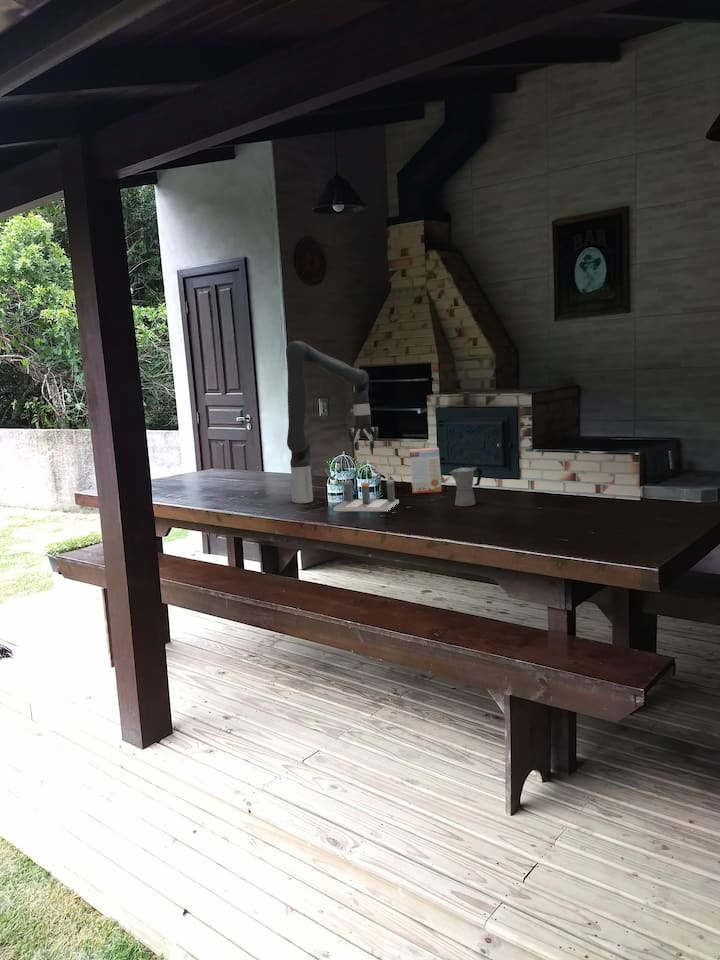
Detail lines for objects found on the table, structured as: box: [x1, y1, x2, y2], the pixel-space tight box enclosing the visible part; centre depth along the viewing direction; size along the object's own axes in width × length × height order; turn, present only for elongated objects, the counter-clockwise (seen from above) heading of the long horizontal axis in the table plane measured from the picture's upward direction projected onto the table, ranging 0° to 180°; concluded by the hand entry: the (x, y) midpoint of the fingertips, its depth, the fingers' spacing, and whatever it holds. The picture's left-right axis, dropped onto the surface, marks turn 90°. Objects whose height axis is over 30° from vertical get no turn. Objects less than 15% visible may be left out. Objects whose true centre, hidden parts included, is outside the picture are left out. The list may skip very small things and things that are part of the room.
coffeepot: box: [449, 462, 484, 507], centre depth 323 cm, size 15×9×18 cm, turn 107°
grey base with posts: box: [333, 479, 400, 512], centre depth 332 cm, size 25×17×11 cm
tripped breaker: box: [360, 481, 371, 504], centre depth 332 cm, size 2×3×9 cm
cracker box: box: [409, 447, 443, 494], centre depth 356 cm, size 14×6×21 cm, turn 84°
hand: (364, 449), depth 343 cm, fingers open, 6 cm apart
